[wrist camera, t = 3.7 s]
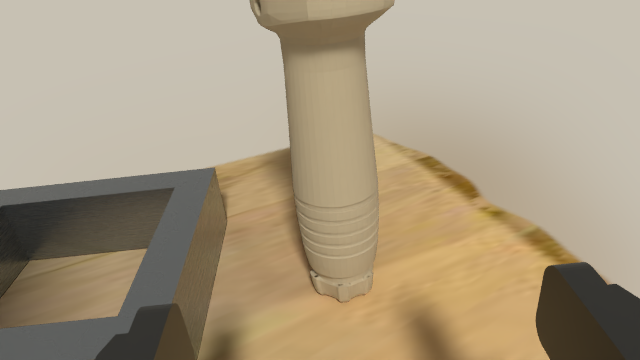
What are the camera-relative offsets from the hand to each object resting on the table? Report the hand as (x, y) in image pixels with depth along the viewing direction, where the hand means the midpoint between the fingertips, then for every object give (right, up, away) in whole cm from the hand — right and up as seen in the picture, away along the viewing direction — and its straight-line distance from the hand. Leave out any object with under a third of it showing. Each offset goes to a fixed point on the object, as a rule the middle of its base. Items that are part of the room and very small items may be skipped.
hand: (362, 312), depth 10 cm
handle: (0, -3, +14) cm, 14 cm away
